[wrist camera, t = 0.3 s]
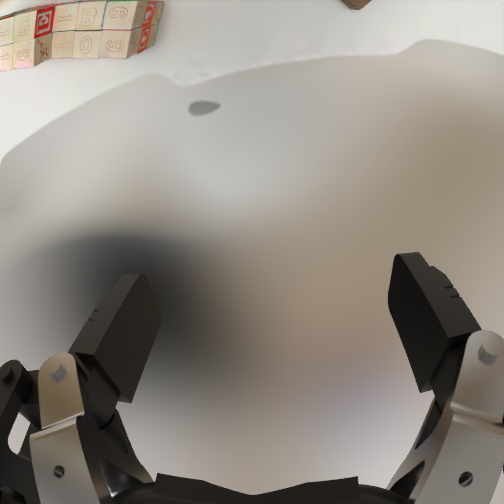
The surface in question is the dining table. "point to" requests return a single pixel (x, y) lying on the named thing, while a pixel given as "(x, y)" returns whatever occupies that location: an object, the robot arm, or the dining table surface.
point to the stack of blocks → (77, 31)
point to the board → (356, 3)
